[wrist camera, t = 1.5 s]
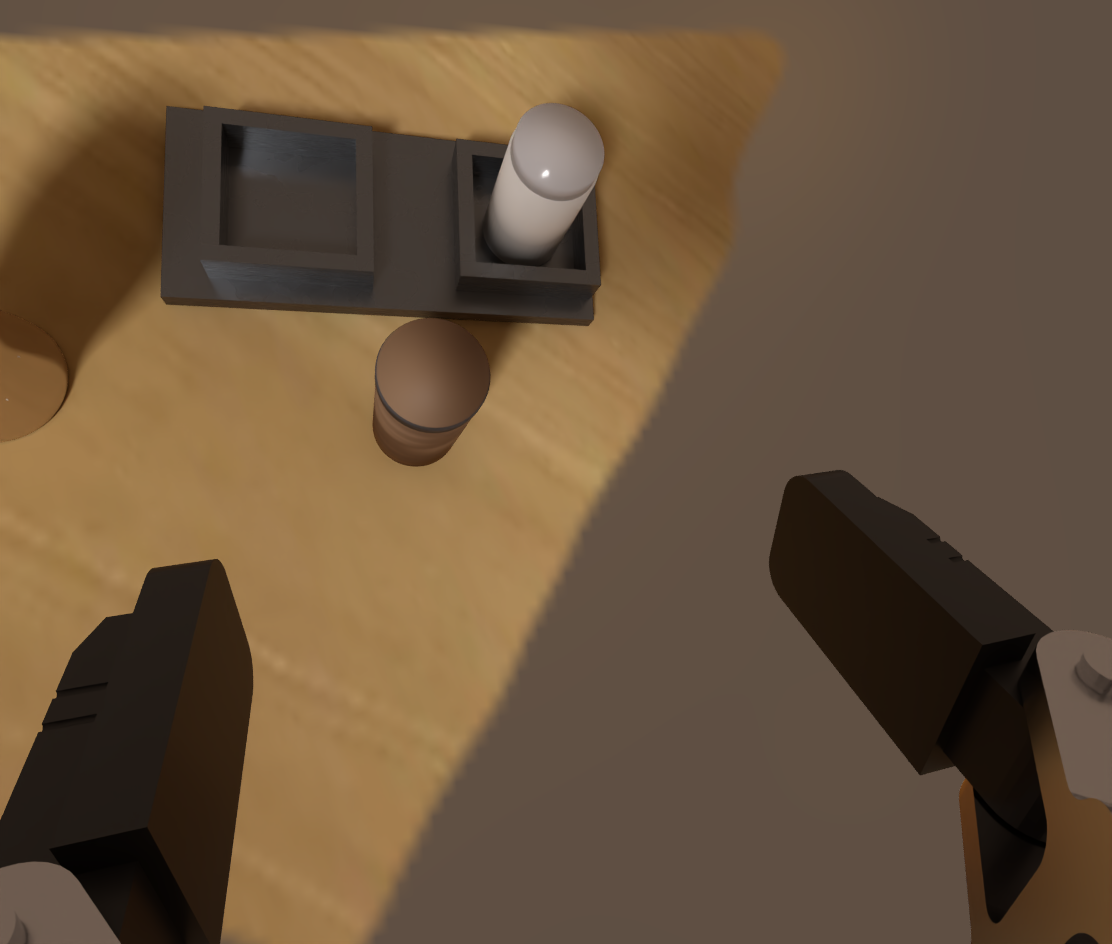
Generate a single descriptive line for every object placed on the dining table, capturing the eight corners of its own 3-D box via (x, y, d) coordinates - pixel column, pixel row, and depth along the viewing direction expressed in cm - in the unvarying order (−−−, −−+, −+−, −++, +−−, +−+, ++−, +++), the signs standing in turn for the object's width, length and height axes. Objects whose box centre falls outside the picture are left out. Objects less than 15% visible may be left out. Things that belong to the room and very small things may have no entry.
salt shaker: (484, 265, 38) (514, 186, 30) (481, 190, 38) (510, 94, 31) (560, 270, 39) (609, 196, 31) (557, 198, 40) (603, 108, 32)
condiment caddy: (165, 304, 34) (148, 279, 31) (171, 118, 35) (155, 78, 33) (588, 325, 40) (605, 306, 37) (579, 166, 41) (595, 136, 39)
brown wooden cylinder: (372, 467, 36) (375, 427, 26) (371, 383, 36) (374, 313, 27) (459, 466, 37) (493, 428, 27) (456, 385, 37) (489, 319, 28)
